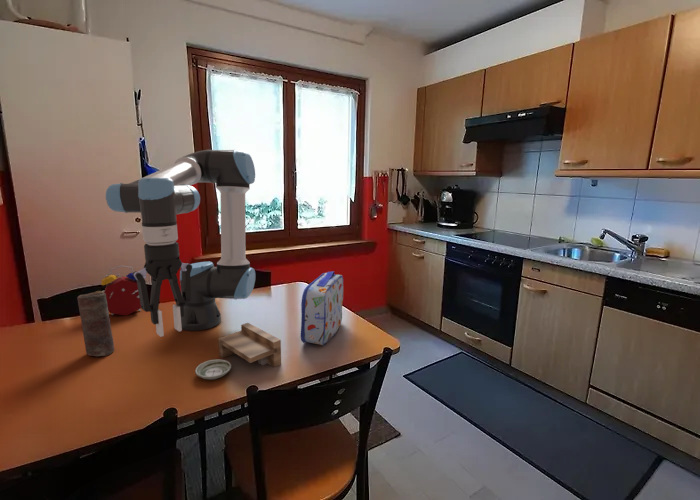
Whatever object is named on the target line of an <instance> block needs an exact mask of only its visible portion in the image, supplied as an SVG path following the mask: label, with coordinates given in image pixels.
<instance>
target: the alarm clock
mask: <svg viewBox="0 0 700 500" xmlns="http://www.w3.org/2000/svg"><path fill="white" fill-rule="evenodd" d="M121 267H123V268H129V269H130V270H131V272H130V273H128V274H126V276H121V273H118V274H116V275H115V274H112V270H115V269H118V268H121ZM133 272H134V269H133V266H127V265H118V266H116V267H113V268H109V274H105V277H104V278H103V279H101V281H100V285H101V286H105V288H104V291H103V292H104V293H105V294H106V299H107V306H108V312H109V313H110V315H112V316H113V315H121V316H125V317H126V315H127V316H129V315H131V314H132V313H134V312H136V311H139V312H142V308H141V304H140V298H139V292H138V286H137V281H136V279H135V277H134V276H133Z"/></svg>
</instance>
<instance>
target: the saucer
mask: <svg viewBox="0 0 700 500" xmlns="http://www.w3.org/2000/svg"><path fill="white" fill-rule="evenodd" d="M231 369H232V363H231V362H230V361H228V360H226V359H218V358H217V359H209V360H206V361H204V362H201V363H200V364H198V366H196V367H195V371H194V372H195V375H196V376H197V377H199V378H202V379H204V380H217V379H219V378H222V377H223V376H225V375H227V374H228V373H229V372H230V371H231Z"/></svg>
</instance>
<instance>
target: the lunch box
mask: <svg viewBox="0 0 700 500" xmlns="http://www.w3.org/2000/svg"><path fill="white" fill-rule="evenodd" d="M343 300H344V276H343V275H342V274H335V271H327V272H322V273H321V274H320V275H319V276H318V277H317V278H315V279H314V280H312V282H310V283H309V284H307V285H306V287H305V288H304V290H303V292H302V297H301V304H300V306H301V307H300V308H301V309H300V311H301V314H300V315H301V317H300V318H301V319H300V320H301V322H300V336H299V337H300V340H301V342H302V343H303V344H304V343H309V344H316V345H320V346H324V345H326V343H328V342H329V340H331V339H332V338H333V336H335V335H336V334H337V331H338V329H339V328H340V327H341V324H342V320H343V302H344V301H343Z"/></svg>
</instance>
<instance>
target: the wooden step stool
mask: <svg viewBox="0 0 700 500" xmlns="http://www.w3.org/2000/svg"><path fill="white" fill-rule="evenodd" d="M240 326H241V327H240V329H241V330H239V331H238V330H237V331H235V332H233V333H230V334H227V335H224V336H221V337H218V350H219V351H218V352H219V356H220V357H221V358H222V359H224V358H226V357H230V356H232V355H234V354H236V355H237V356H238V357H240V358H242V359H243V360H245V361H246V362H248V363H249V364H252V363H254V362H256V361H257V363H258V364H260V365H261V366H264V365H266V364H269V365H270V366H272V367H274V368H276V367H278V366H280V365H282V340H281V339H280V338H278V337H276V336H274V335H272V334H270V332H269V333H268V332H267V331H264V330H263V329H261V328H259V327H257V326H255V325H253V324H251V323H249V322H246V323H242V324H241V325H240Z"/></svg>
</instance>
